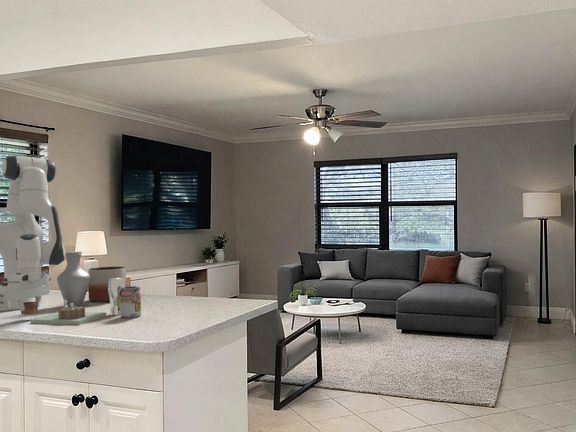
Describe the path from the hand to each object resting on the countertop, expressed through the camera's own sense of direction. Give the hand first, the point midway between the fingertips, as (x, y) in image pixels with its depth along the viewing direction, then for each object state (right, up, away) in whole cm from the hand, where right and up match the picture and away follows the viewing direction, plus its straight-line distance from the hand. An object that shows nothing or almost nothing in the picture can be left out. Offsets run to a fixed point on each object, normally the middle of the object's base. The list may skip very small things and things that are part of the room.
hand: (29, 308), depth 230 cm
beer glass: (+33, -4, +8) cm, 34 cm away
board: (+17, -4, -2) cm, 18 cm away
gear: (0, -2, 0) cm, 2 cm away
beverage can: (+41, -4, +1) cm, 41 cm away
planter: (+16, -4, +49) cm, 52 cm away
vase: (+6, -4, +33) cm, 34 cm away
